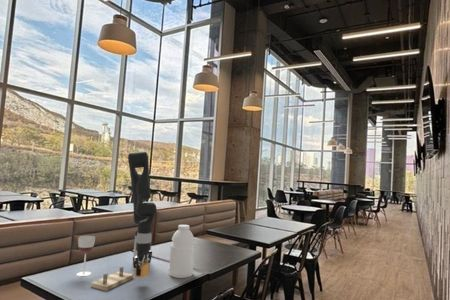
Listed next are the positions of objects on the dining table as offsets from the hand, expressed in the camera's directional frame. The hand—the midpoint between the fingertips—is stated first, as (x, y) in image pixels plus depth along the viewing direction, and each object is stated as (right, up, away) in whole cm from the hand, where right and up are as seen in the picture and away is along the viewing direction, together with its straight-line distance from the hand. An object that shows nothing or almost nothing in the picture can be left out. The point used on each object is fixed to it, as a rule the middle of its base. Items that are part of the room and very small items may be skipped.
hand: (141, 273), depth 160 cm
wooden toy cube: (0, -1, 0) cm, 1 cm away
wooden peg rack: (-15, -5, +1) cm, 16 cm away
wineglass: (-35, -4, +11) cm, 37 cm away
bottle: (+18, -8, +19) cm, 27 cm away
